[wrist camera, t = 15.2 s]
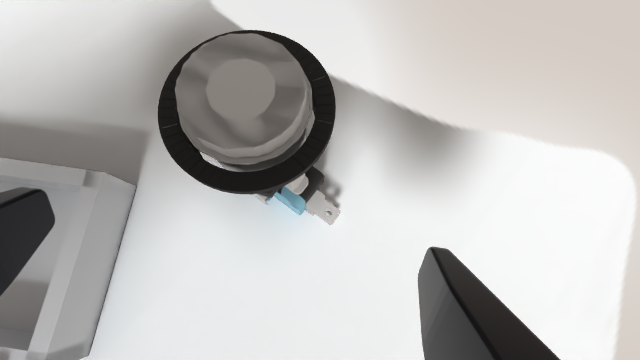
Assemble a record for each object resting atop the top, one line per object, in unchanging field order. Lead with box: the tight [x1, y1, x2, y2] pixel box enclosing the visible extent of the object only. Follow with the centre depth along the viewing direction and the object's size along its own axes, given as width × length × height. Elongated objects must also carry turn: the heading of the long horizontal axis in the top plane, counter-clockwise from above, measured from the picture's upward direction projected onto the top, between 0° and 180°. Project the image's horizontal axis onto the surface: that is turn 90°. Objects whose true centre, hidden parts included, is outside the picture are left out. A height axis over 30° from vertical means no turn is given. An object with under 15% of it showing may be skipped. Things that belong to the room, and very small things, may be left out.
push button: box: [158, 30, 340, 225], centre depth 14 cm, size 7×5×10 cm
